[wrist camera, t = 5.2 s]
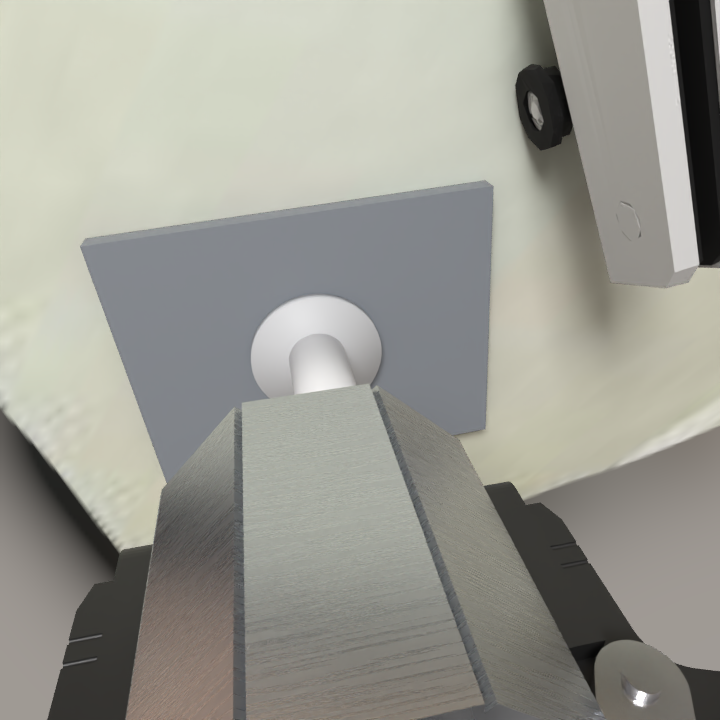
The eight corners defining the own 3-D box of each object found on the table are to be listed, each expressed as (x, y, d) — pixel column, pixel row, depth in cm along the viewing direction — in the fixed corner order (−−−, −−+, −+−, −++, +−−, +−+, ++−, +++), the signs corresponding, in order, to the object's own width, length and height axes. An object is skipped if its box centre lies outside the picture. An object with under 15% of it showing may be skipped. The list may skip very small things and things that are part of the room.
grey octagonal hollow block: (465, 368, 11) (668, 683, 6) (453, 623, 15) (565, 937, 10) (135, 418, 10) (32, 832, 5) (219, 672, 15) (209, 1039, 9)
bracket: (467, -72, 23) (560, 273, 28) (584, -225, 13) (690, 332, 19) (562, -114, 23) (638, 240, 28) (747, -297, 13) (808, 284, 19)
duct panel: (485, 180, 27) (585, 246, 19) (479, 418, 34) (549, 534, 26) (85, 238, 25) (19, 338, 17) (171, 478, 32) (151, 622, 24)
